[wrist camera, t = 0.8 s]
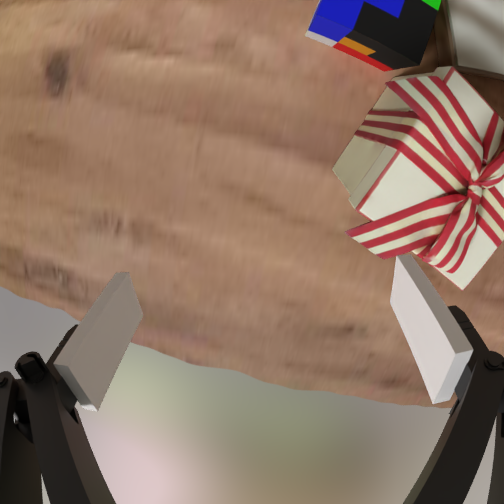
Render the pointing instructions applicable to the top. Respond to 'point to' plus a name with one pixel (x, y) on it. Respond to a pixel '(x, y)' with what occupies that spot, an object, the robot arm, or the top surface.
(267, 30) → the top surface
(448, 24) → the stand
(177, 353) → the top surface
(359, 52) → the puzzle toy
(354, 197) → the gift box
